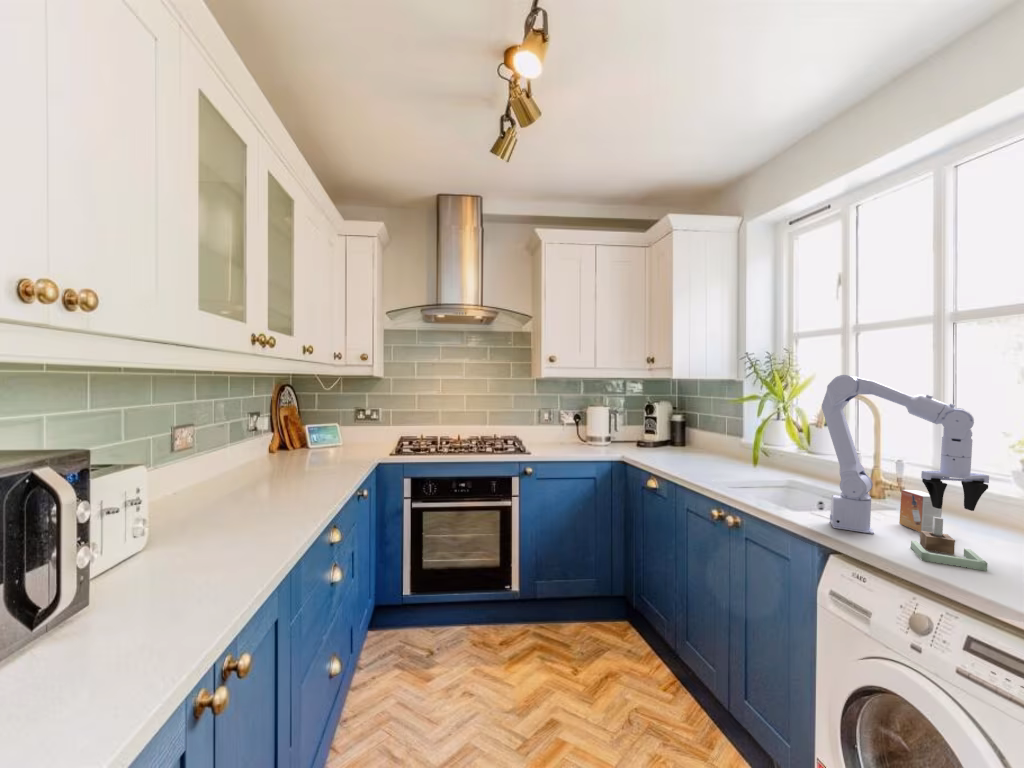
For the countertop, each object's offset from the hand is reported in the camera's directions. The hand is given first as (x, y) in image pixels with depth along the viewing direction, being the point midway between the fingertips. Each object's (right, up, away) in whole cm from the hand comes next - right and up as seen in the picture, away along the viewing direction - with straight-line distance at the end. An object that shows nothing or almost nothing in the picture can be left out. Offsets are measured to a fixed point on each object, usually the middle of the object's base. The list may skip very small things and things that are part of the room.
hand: (952, 508), depth 122 cm
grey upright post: (-5, -10, -1) cm, 11 cm away
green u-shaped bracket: (-8, -10, -7) cm, 15 cm away
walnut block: (-5, -10, -1) cm, 11 cm away
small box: (+6, -10, +16) cm, 20 cm away
